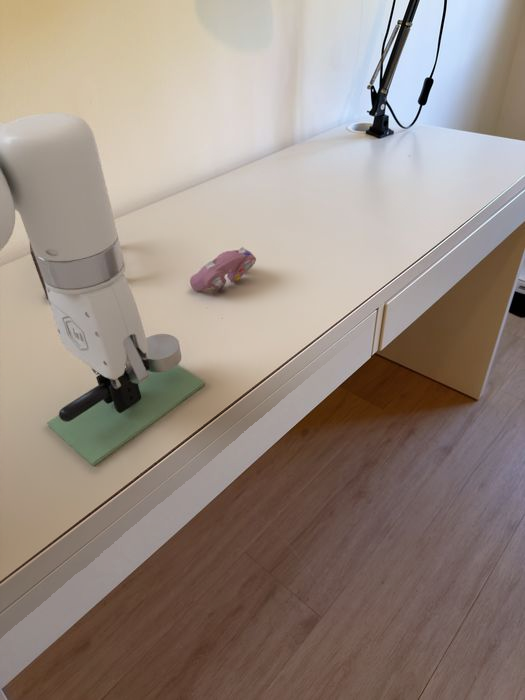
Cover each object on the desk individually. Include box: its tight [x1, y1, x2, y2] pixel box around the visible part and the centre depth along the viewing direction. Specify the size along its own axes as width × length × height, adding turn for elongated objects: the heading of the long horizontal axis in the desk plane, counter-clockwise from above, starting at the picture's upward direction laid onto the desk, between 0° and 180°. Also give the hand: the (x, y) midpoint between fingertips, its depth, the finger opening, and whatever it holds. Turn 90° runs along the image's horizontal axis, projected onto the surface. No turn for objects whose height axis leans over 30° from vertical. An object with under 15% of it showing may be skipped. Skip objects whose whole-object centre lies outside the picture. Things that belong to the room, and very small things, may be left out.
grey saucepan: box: [58, 333, 182, 422], centre depth 59 cm, size 16×5×2 cm, turn 138°
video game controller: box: [189, 246, 257, 292], centre depth 79 cm, size 10×5×7 cm, turn 131°
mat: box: [46, 364, 206, 467], centre depth 61 cm, size 16×9×1 cm, turn 138°
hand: (122, 400), depth 60 cm, fingers closed on grey saucepan
